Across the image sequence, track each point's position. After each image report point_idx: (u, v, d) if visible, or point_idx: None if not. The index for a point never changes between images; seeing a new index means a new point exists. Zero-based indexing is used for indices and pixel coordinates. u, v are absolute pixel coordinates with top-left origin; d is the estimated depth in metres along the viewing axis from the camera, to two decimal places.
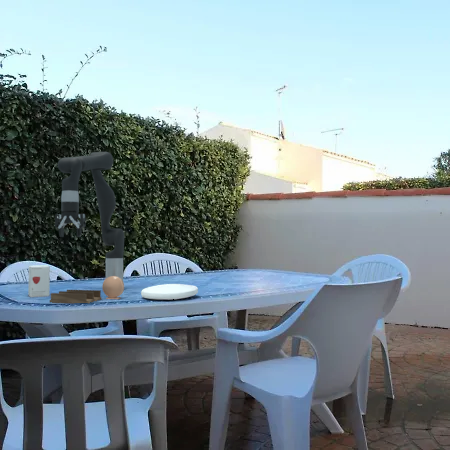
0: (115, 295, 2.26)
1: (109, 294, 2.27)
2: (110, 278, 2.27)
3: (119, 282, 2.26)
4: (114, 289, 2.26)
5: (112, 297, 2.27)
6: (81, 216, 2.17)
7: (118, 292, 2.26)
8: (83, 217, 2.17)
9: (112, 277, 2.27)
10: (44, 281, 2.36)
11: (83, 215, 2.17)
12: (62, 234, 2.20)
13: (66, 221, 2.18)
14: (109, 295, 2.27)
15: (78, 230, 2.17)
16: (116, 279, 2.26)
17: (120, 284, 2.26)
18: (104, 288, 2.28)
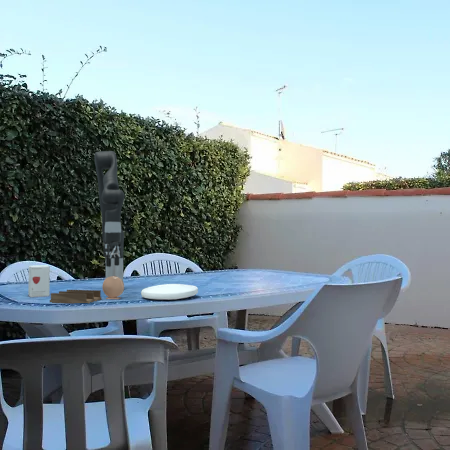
0: (115, 295, 2.26)
1: (109, 294, 2.27)
2: (110, 278, 2.27)
3: (119, 282, 2.26)
4: (114, 289, 2.26)
5: (112, 297, 2.27)
6: (121, 246, 2.34)
7: (118, 292, 2.26)
8: None
9: (112, 277, 2.27)
10: (44, 281, 2.36)
11: None
12: None
13: None
14: (109, 295, 2.27)
15: (118, 259, 2.32)
16: (116, 279, 2.26)
17: (120, 284, 2.26)
18: (104, 288, 2.28)
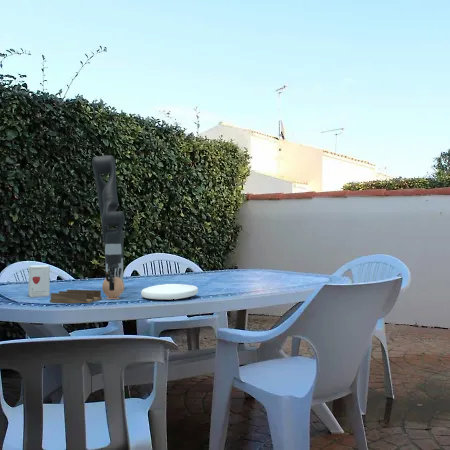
0: (115, 295, 2.26)
1: (110, 294, 2.27)
2: None
3: (119, 282, 2.26)
4: (114, 289, 2.26)
5: (112, 297, 2.26)
6: (120, 270, 2.33)
7: (118, 292, 2.26)
8: None
9: None
10: (44, 281, 2.36)
11: None
12: None
13: None
14: (109, 295, 2.27)
15: None
16: (116, 279, 2.26)
17: (120, 284, 2.26)
18: (104, 288, 2.27)
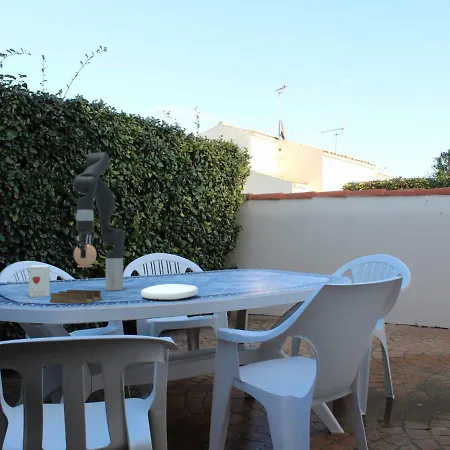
0: (87, 263, 2.18)
1: (81, 262, 2.19)
2: None
3: (91, 249, 2.18)
4: (86, 257, 2.18)
5: (84, 265, 2.18)
6: (93, 238, 2.25)
7: (90, 260, 2.18)
8: None
9: None
10: (44, 281, 2.36)
11: None
12: None
13: (86, 239, 2.20)
14: (80, 263, 2.19)
15: None
16: (88, 246, 2.18)
17: (92, 251, 2.18)
18: (75, 256, 2.19)
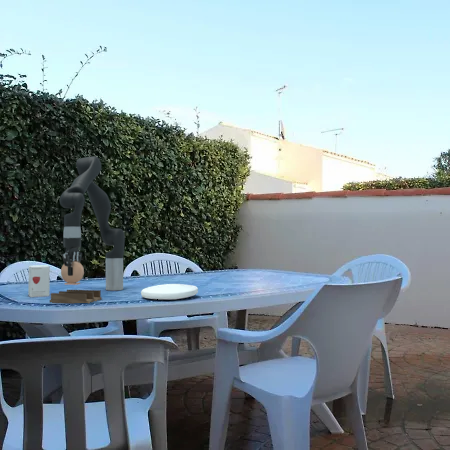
0: (74, 280, 2.15)
1: (68, 279, 2.16)
2: None
3: (78, 267, 2.15)
4: (73, 274, 2.16)
5: (71, 282, 2.16)
6: (81, 255, 2.23)
7: (77, 277, 2.15)
8: None
9: None
10: (44, 281, 2.36)
11: None
12: None
13: None
14: (68, 280, 2.16)
15: None
16: (75, 264, 2.15)
17: (79, 269, 2.15)
18: (63, 273, 2.17)
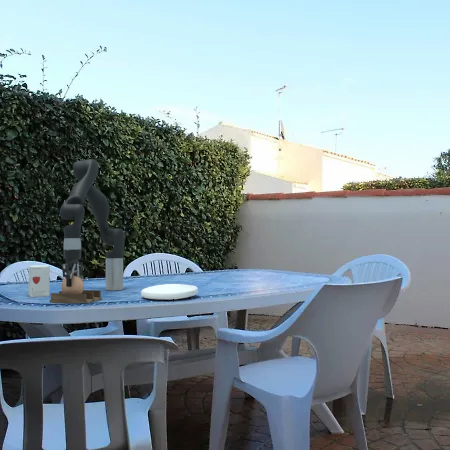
0: None
1: None
2: None
3: (78, 282, 2.15)
4: (73, 290, 2.16)
5: None
6: (81, 265, 2.23)
7: (77, 292, 2.15)
8: None
9: (71, 277, 2.16)
10: (44, 281, 2.36)
11: None
12: None
13: (73, 268, 2.16)
14: None
15: None
16: (75, 279, 2.16)
17: (79, 284, 2.15)
18: (63, 288, 2.17)
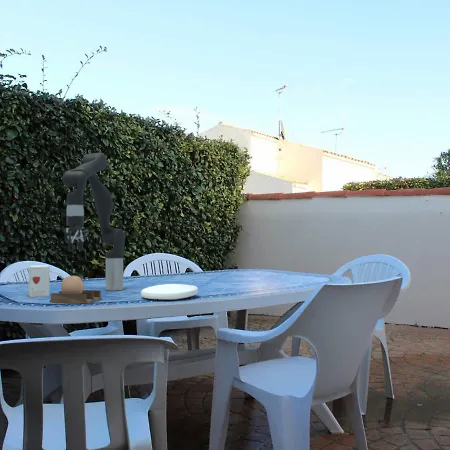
0: None
1: None
2: (69, 278, 2.16)
3: (78, 282, 2.15)
4: (73, 290, 2.16)
5: None
6: (85, 230, 2.25)
7: (77, 292, 2.15)
8: None
9: (71, 277, 2.16)
10: (44, 281, 2.36)
11: None
12: None
13: None
14: None
15: (82, 244, 2.23)
16: (75, 279, 2.15)
17: (79, 284, 2.15)
18: (63, 288, 2.17)
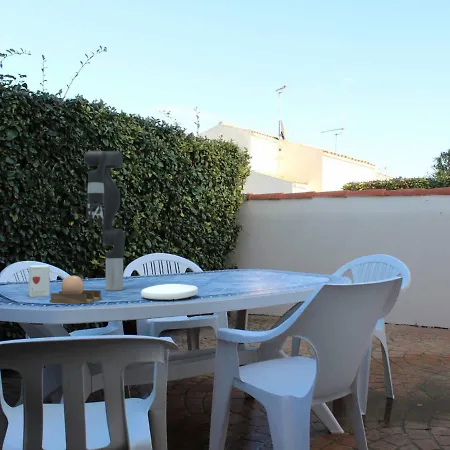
0: None
1: None
2: (69, 278, 2.16)
3: (78, 282, 2.15)
4: (73, 290, 2.16)
5: None
6: (104, 207, 2.36)
7: (77, 292, 2.15)
8: None
9: (71, 277, 2.16)
10: (44, 281, 2.36)
11: None
12: None
13: None
14: None
15: None
16: (75, 279, 2.15)
17: (79, 284, 2.15)
18: (63, 288, 2.17)
